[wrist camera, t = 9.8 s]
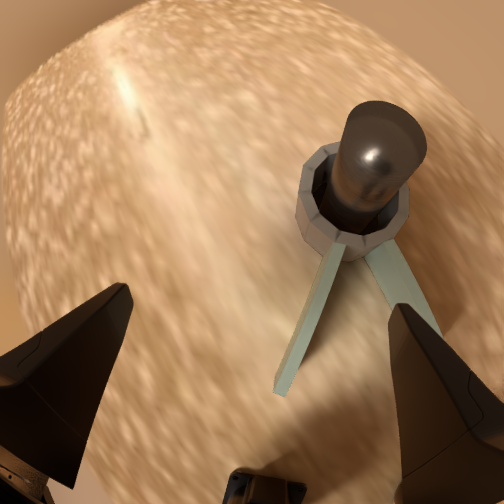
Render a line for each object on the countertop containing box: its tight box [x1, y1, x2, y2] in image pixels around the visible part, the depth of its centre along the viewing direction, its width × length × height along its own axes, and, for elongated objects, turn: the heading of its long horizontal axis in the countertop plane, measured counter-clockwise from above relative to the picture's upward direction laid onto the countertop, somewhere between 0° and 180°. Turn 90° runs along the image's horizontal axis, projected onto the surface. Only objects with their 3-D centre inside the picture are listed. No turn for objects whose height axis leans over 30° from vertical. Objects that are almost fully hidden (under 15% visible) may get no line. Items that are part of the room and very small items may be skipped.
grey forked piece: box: [273, 141, 445, 397], centre depth 20 cm, size 18×13×5 cm
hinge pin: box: [319, 101, 427, 235], centre depth 18 cm, size 4×4×12 cm
